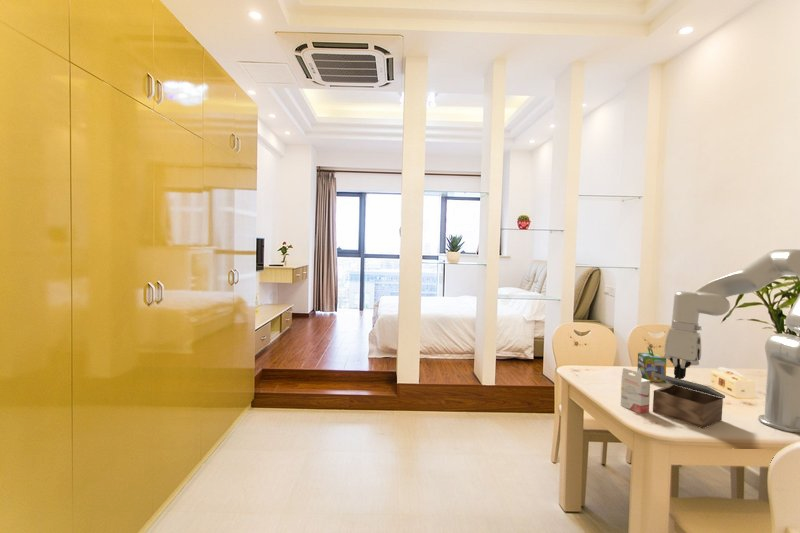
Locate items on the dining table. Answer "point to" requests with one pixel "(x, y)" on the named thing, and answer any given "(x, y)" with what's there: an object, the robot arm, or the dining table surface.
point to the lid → (689, 385)
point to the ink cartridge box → (635, 391)
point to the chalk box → (651, 366)
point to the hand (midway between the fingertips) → (679, 378)
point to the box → (688, 406)
